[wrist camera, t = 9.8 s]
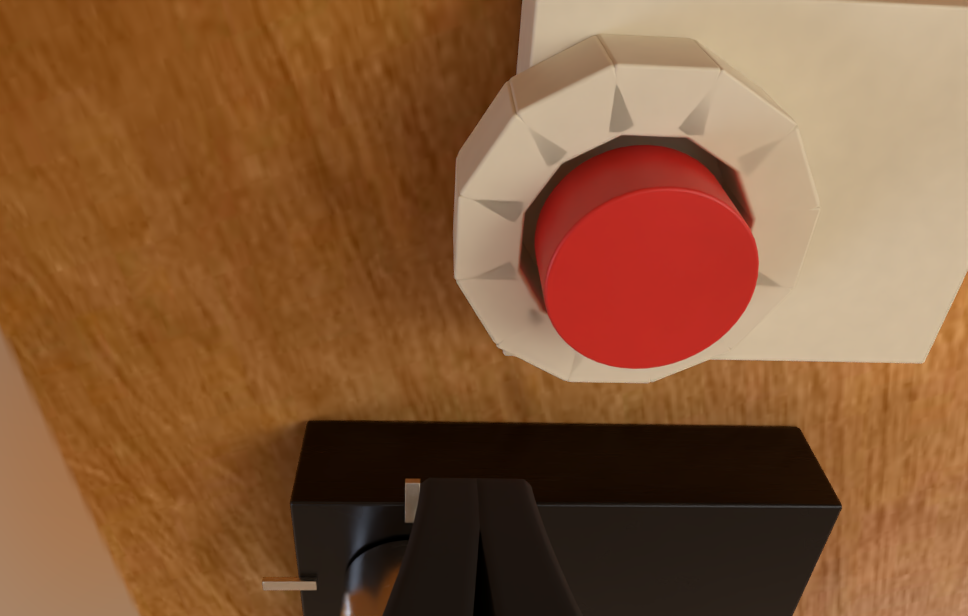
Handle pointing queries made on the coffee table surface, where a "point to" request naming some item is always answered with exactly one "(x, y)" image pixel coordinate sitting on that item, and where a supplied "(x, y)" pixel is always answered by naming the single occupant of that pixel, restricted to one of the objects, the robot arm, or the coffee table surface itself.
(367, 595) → the stove knob
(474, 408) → the coffee table surface
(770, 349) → the igniter
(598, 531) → the stove panel
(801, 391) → the coffee table surface
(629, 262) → the button
